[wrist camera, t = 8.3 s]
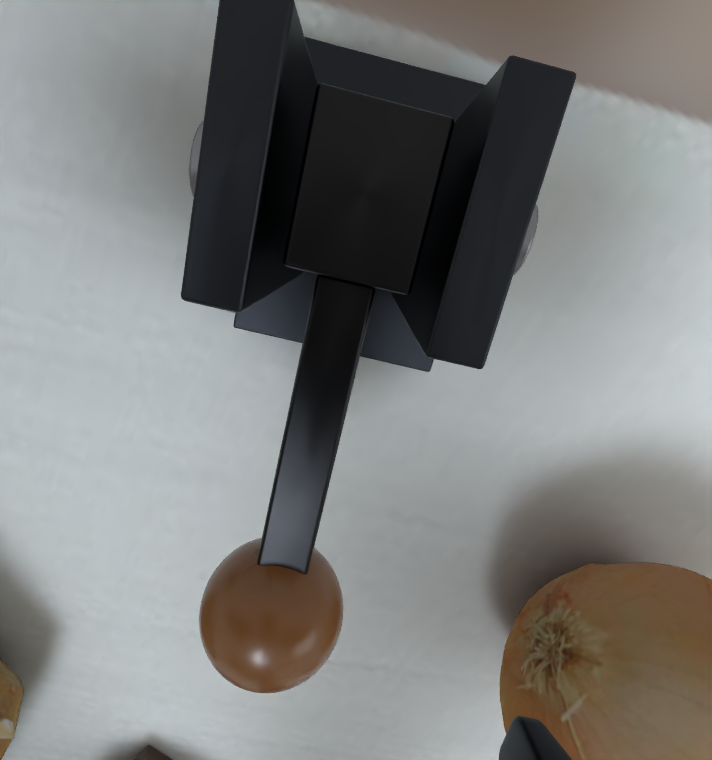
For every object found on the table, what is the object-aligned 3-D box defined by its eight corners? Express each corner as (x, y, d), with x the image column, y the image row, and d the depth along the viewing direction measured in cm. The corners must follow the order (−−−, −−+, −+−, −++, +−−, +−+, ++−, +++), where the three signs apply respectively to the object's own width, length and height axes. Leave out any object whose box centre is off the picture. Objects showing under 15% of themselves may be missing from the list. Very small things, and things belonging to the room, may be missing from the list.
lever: (330, 628, 13) (321, 743, 10) (212, 605, 13) (167, 715, 10) (453, 159, 10) (495, 117, 7) (303, 121, 10) (280, 61, 7)
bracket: (426, 365, 18) (498, 505, 9) (239, 322, 18) (101, 419, 8) (501, 100, 16) (719, -111, 6) (286, 43, 15) (166, -276, 6)
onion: (547, 470, 19) (735, 703, 10) (751, 564, 20) (1102, 857, 11) (431, 648, 22) (488, 974, 12) (618, 723, 23) (807, 1076, 13)
